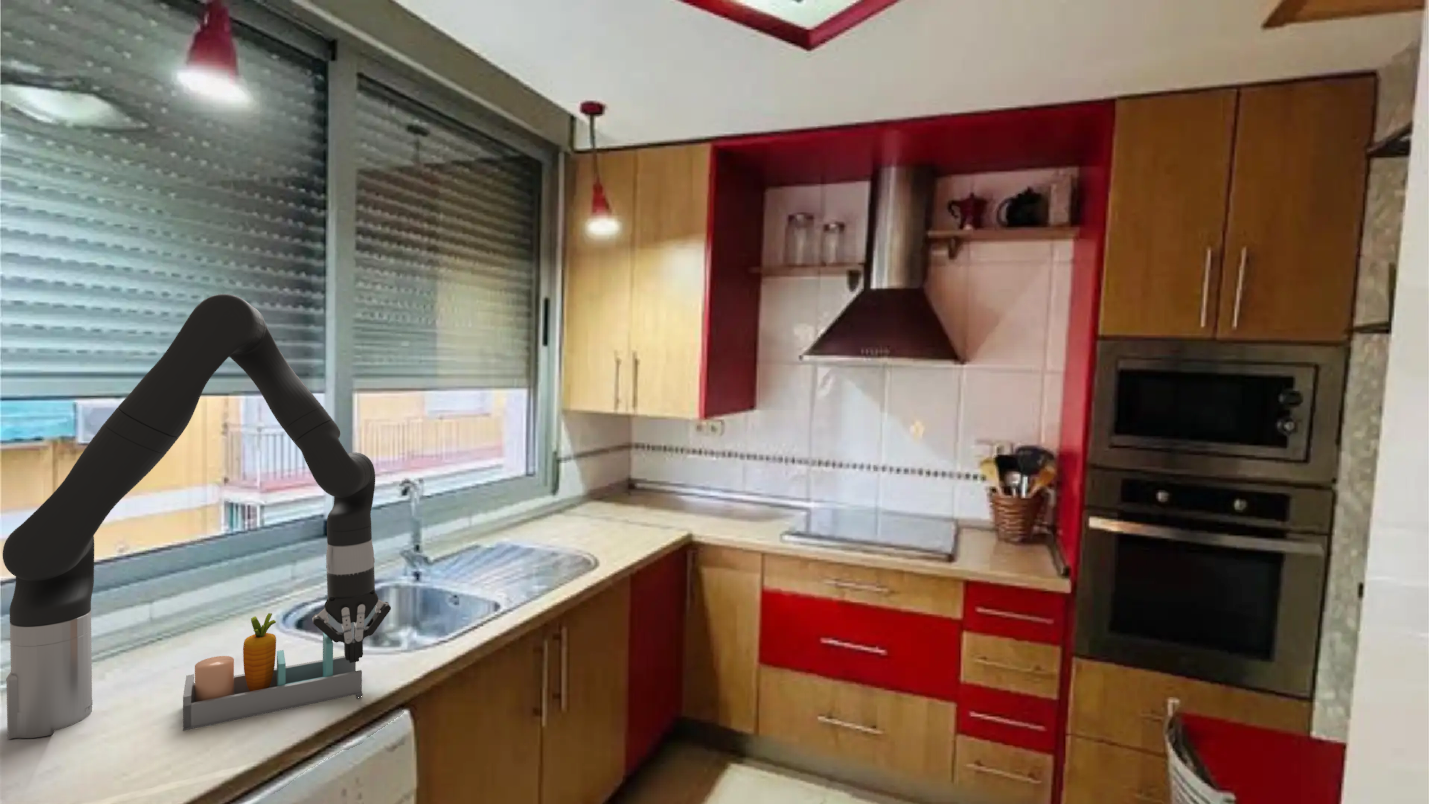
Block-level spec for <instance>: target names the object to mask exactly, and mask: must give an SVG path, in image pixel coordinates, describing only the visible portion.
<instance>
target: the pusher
mask: <svg viewBox="0 0 1429 804" xmlns="http://www.w3.org/2000/svg"><path fill="white" fill-rule="evenodd" d="M333 658H334V641H333V640H332V639H330V638H329V637H328V636H327V635H326V634H325V633H323V632H322V660H323V677H328V676H333ZM276 668H277V686H281V685H287V684H285V682H286V657H285V650H284V649H282V650H276ZM323 677H319V678H323ZM314 679H318V678H314ZM309 680H312V679H309ZM304 681H307V680H304ZM299 682H302V681H299ZM293 683H297V682H293ZM288 684H292V683H288Z"/></svg>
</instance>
